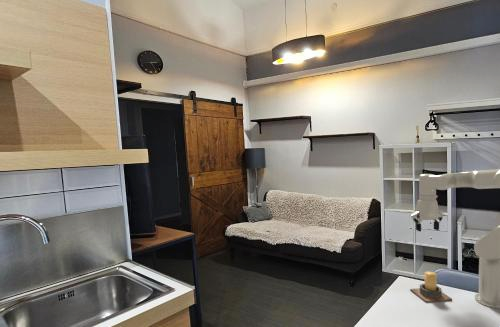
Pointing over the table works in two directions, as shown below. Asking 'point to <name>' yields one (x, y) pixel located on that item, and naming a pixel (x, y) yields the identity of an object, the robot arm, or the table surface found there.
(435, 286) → the pale yellow cylinder
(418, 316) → the table surface
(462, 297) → the table surface
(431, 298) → the mount plate
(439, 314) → the table surface
